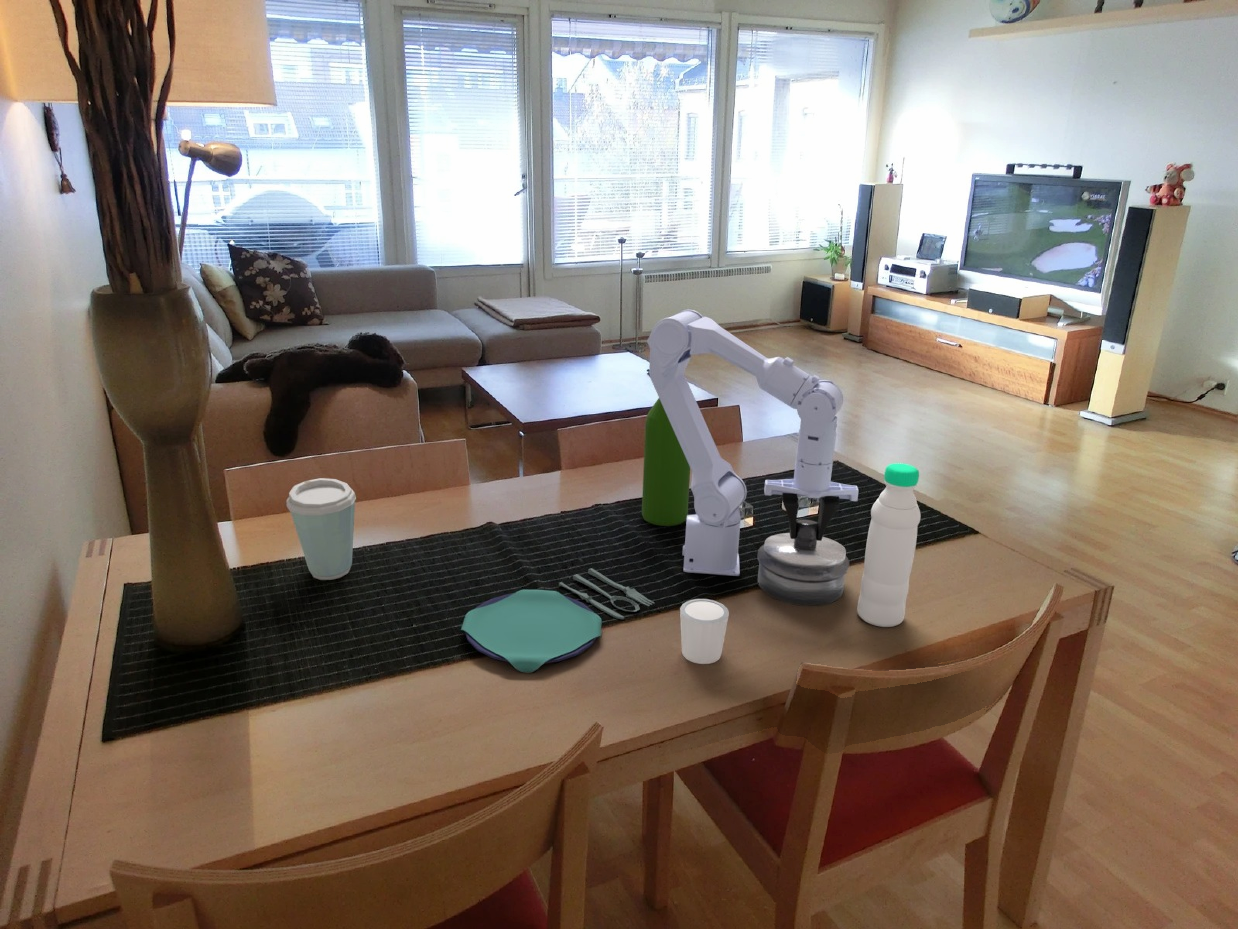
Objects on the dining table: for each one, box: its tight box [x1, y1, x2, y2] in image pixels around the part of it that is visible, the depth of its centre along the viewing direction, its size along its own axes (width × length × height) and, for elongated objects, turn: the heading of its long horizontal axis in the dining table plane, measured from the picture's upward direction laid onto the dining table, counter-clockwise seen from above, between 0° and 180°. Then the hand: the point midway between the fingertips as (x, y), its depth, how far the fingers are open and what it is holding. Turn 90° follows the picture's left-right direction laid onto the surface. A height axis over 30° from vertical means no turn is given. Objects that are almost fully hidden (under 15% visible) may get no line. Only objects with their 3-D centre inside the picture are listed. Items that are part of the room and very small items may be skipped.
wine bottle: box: [641, 397, 691, 527], centre depth 161 cm, size 9×9×32 cm
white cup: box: [679, 598, 730, 665], centre depth 121 cm, size 7×7×7 cm
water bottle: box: [856, 462, 922, 628], centre depth 129 cm, size 7×7×25 cm
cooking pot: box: [757, 543, 850, 607], centre depth 142 cm, size 15×15×5 cm
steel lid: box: [763, 519, 847, 569], centre depth 139 cm, size 13×13×5 cm
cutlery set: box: [460, 567, 656, 674], centre depth 129 cm, size 20×30×2 cm, turn 135°
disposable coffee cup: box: [285, 477, 357, 581], centre depth 139 cm, size 11×11×15 cm
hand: (805, 537), depth 139 cm, fingers closed on steel lid, 4 cm apart
